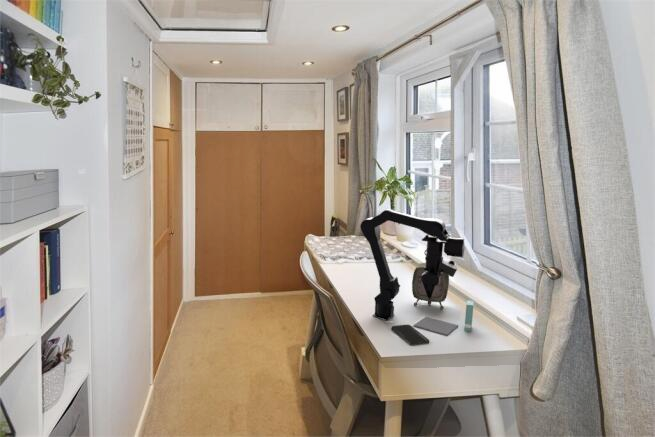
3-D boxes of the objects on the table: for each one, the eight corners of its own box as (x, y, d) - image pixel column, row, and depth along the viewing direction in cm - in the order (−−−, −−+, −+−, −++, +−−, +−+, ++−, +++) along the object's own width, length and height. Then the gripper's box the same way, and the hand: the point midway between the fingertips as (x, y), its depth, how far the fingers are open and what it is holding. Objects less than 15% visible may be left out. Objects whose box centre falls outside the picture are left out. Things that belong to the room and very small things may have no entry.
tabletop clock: (410, 307, 189) (414, 248, 185) (412, 300, 198) (416, 244, 194) (446, 312, 185) (451, 252, 181) (447, 304, 193) (452, 247, 189)
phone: (408, 324, 169) (430, 341, 155) (408, 327, 169) (430, 344, 155) (389, 326, 166) (410, 343, 152) (389, 329, 167) (410, 346, 153)
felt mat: (413, 326, 169) (413, 325, 169) (425, 317, 178) (425, 316, 178) (447, 335, 162) (447, 334, 161) (458, 326, 170) (458, 325, 170)
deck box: (464, 330, 167) (466, 304, 165) (464, 325, 172) (466, 300, 170) (471, 331, 166) (473, 305, 164) (471, 326, 171) (473, 301, 169)
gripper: (455, 262, 155) (451, 306, 158) (458, 250, 173) (454, 290, 176) (422, 258, 159) (419, 301, 161) (428, 247, 176) (425, 286, 179)
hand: (430, 294), depth 169 cm, fingers open, 9 cm apart
